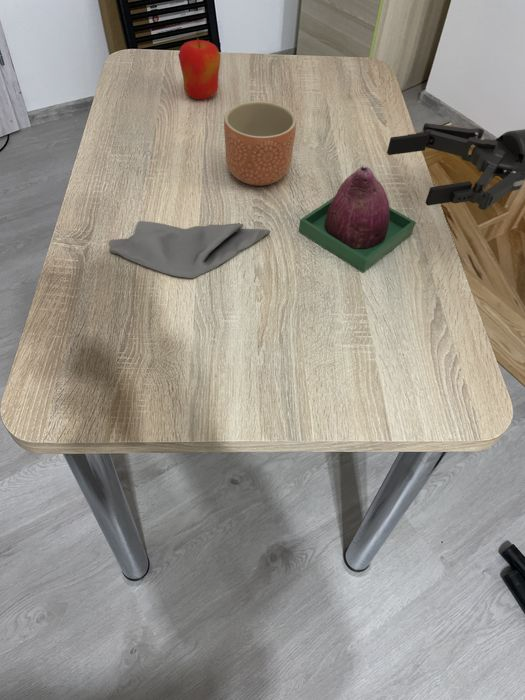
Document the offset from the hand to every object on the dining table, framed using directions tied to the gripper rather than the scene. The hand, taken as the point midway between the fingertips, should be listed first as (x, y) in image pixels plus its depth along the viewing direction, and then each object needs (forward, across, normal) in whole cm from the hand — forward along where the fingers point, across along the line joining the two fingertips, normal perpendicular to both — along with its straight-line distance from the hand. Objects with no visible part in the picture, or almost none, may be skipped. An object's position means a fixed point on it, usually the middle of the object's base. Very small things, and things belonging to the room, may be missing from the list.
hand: (408, 170), depth 82 cm
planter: (+18, +21, -12) cm, 30 cm away
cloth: (+34, +3, -12) cm, 36 cm away
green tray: (+6, +1, -12) cm, 13 cm away
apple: (+22, +52, -12) cm, 58 cm away
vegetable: (+6, +1, -11) cm, 13 cm away
